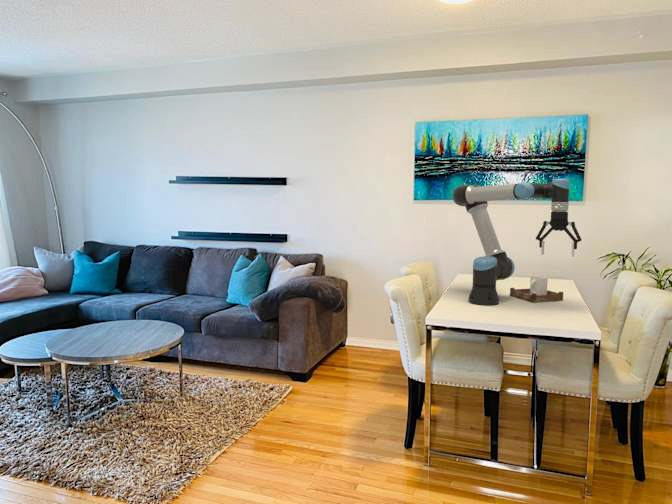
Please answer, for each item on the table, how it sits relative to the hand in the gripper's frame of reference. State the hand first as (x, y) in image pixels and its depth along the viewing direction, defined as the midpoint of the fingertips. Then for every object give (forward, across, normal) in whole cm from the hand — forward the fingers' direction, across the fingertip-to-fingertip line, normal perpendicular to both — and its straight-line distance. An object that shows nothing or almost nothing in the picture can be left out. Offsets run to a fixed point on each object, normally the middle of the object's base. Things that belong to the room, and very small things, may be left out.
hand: (557, 255), depth 250 cm
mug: (+26, -13, +24) cm, 37 cm away
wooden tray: (+26, -13, +24) cm, 38 cm away
